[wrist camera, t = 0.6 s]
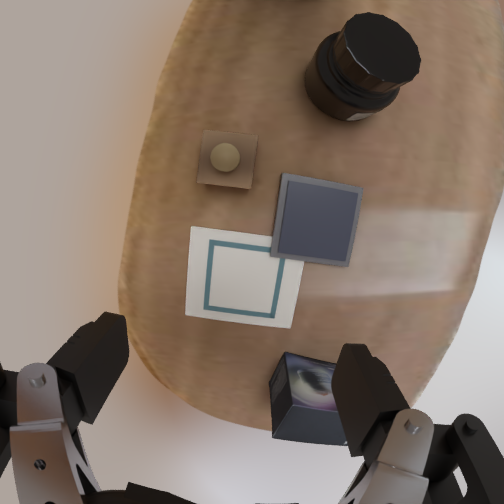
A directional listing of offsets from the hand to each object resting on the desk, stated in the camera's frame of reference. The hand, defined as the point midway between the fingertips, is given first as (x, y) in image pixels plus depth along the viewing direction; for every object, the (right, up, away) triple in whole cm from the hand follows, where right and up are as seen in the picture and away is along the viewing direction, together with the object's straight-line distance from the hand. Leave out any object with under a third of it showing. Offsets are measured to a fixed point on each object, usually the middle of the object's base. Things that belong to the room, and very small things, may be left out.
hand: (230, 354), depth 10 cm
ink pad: (+8, +7, +21) cm, 24 cm away
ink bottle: (+11, +22, +17) cm, 30 cm away
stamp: (-1, +13, +20) cm, 24 cm away
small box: (+9, -13, +27) cm, 31 cm away
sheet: (0, 0, +23) cm, 23 cm away
